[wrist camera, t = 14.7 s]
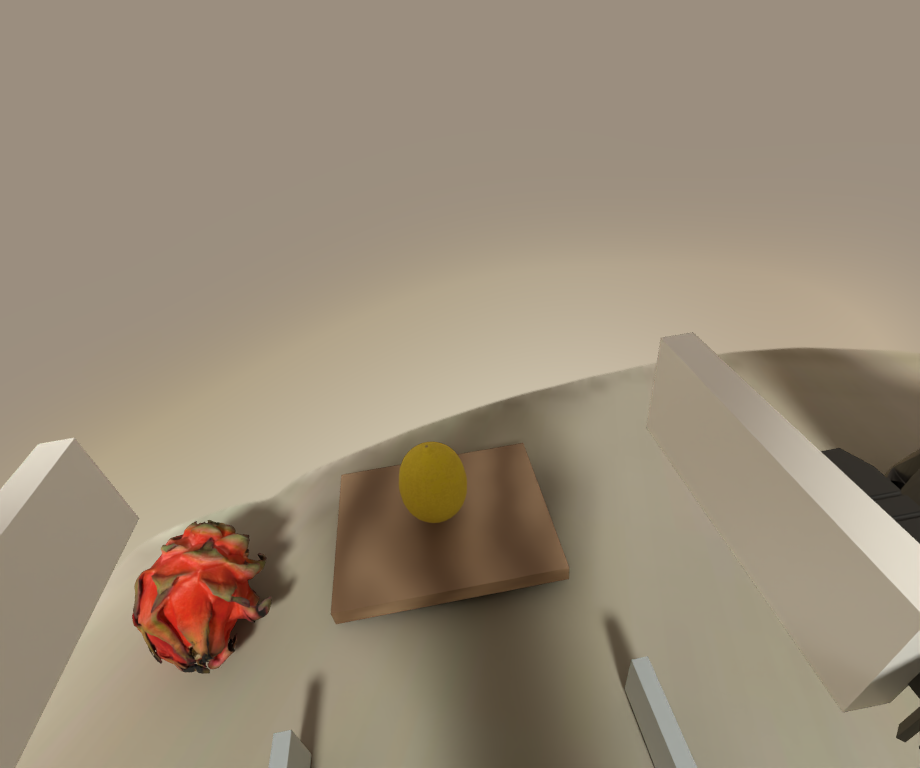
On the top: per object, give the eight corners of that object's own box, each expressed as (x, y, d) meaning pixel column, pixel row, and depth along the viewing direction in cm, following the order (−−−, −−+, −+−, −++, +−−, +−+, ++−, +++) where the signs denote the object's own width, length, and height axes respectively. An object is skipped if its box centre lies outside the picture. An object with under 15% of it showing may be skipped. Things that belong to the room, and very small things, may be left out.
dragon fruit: (239, 560, 44) (245, 702, 35) (128, 559, 39) (104, 725, 30) (274, 498, 40) (289, 639, 32) (158, 488, 35) (139, 652, 27)
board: (523, 453, 48) (523, 442, 47) (568, 578, 37) (569, 567, 36) (345, 485, 47) (341, 475, 46) (336, 624, 36) (330, 613, 35)
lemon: (422, 487, 44) (409, 419, 40) (479, 499, 42) (472, 429, 38) (395, 534, 40) (378, 463, 36) (457, 550, 38) (447, 477, 34)
